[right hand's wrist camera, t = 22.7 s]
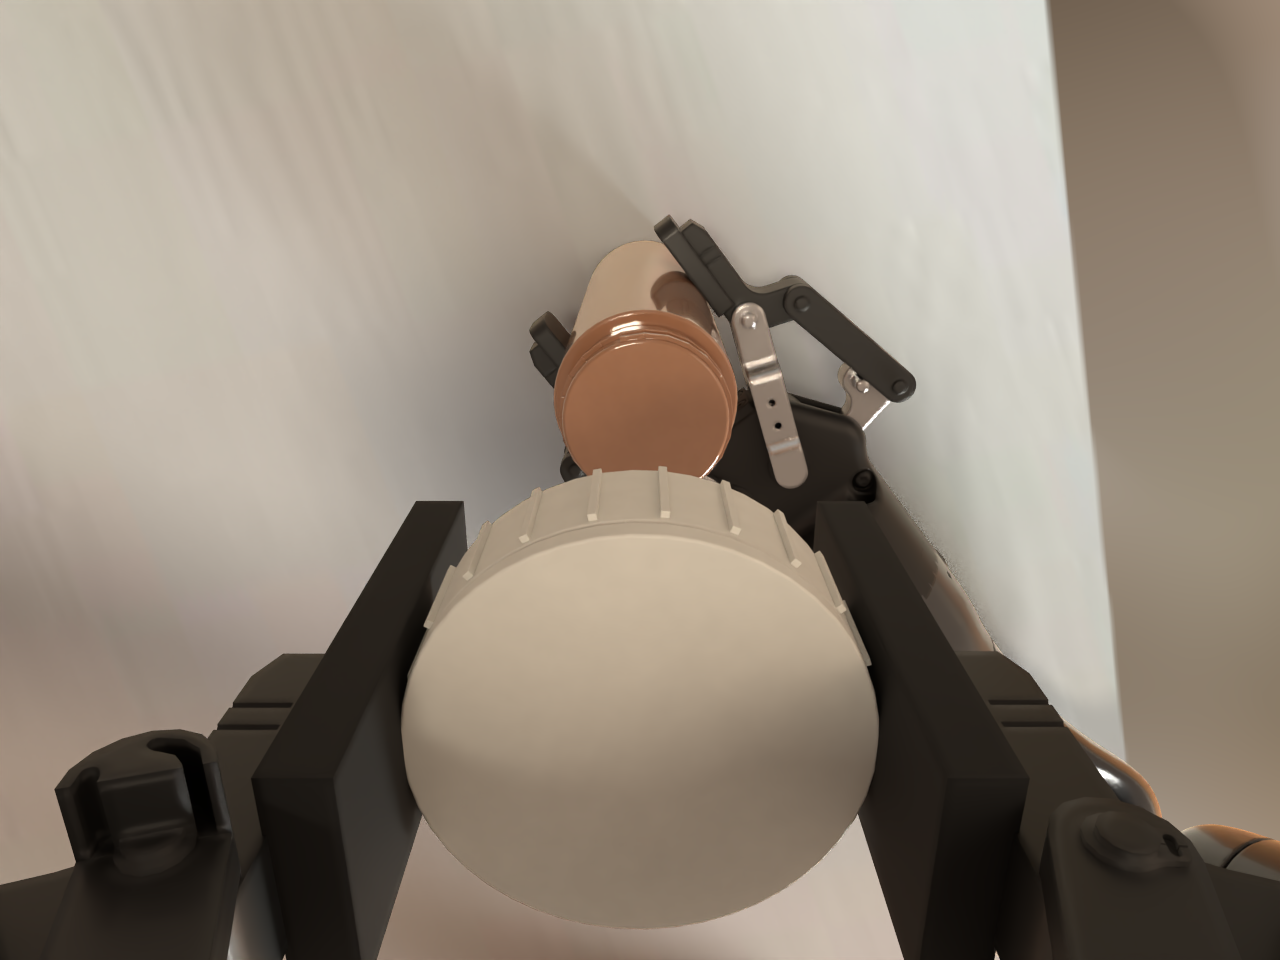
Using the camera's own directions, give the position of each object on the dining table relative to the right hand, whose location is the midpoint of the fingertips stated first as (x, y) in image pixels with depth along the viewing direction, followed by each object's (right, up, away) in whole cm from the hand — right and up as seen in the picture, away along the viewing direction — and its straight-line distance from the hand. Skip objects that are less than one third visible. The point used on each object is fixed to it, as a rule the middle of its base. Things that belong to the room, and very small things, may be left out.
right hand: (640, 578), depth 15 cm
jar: (0, +9, +24) cm, 26 cm away
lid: (0, -1, -4) cm, 4 cm away
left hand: (-1, +9, +17) cm, 20 cm away
